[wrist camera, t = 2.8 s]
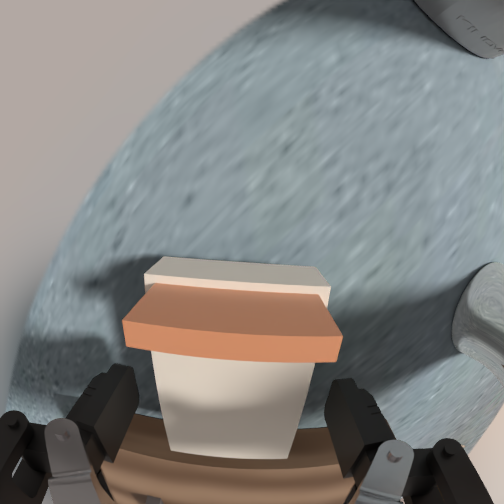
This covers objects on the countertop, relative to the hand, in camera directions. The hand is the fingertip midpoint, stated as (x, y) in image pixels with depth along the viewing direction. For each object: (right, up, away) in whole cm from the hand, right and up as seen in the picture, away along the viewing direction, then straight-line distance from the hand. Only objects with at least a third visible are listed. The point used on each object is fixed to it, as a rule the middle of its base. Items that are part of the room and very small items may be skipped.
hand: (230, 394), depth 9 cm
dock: (-1, -12, +6) cm, 14 cm away
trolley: (0, +1, +2) cm, 3 cm away
